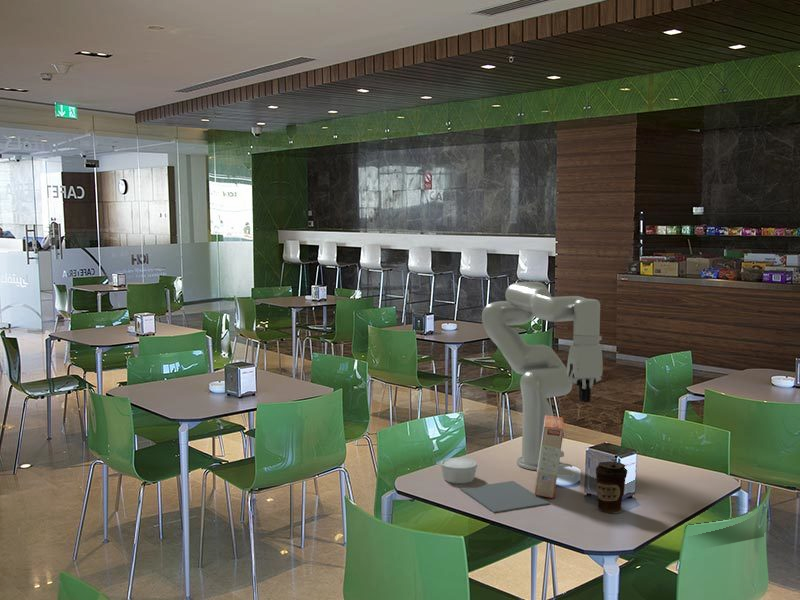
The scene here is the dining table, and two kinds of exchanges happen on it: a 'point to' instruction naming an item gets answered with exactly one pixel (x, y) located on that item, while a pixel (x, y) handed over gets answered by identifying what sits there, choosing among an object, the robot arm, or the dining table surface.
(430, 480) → the dining table surface
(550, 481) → the cracker box
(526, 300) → the robot arm
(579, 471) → the dining table surface
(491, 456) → the dining table surface
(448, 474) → the ramekin
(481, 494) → the rubber mat
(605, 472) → the coffee cup
